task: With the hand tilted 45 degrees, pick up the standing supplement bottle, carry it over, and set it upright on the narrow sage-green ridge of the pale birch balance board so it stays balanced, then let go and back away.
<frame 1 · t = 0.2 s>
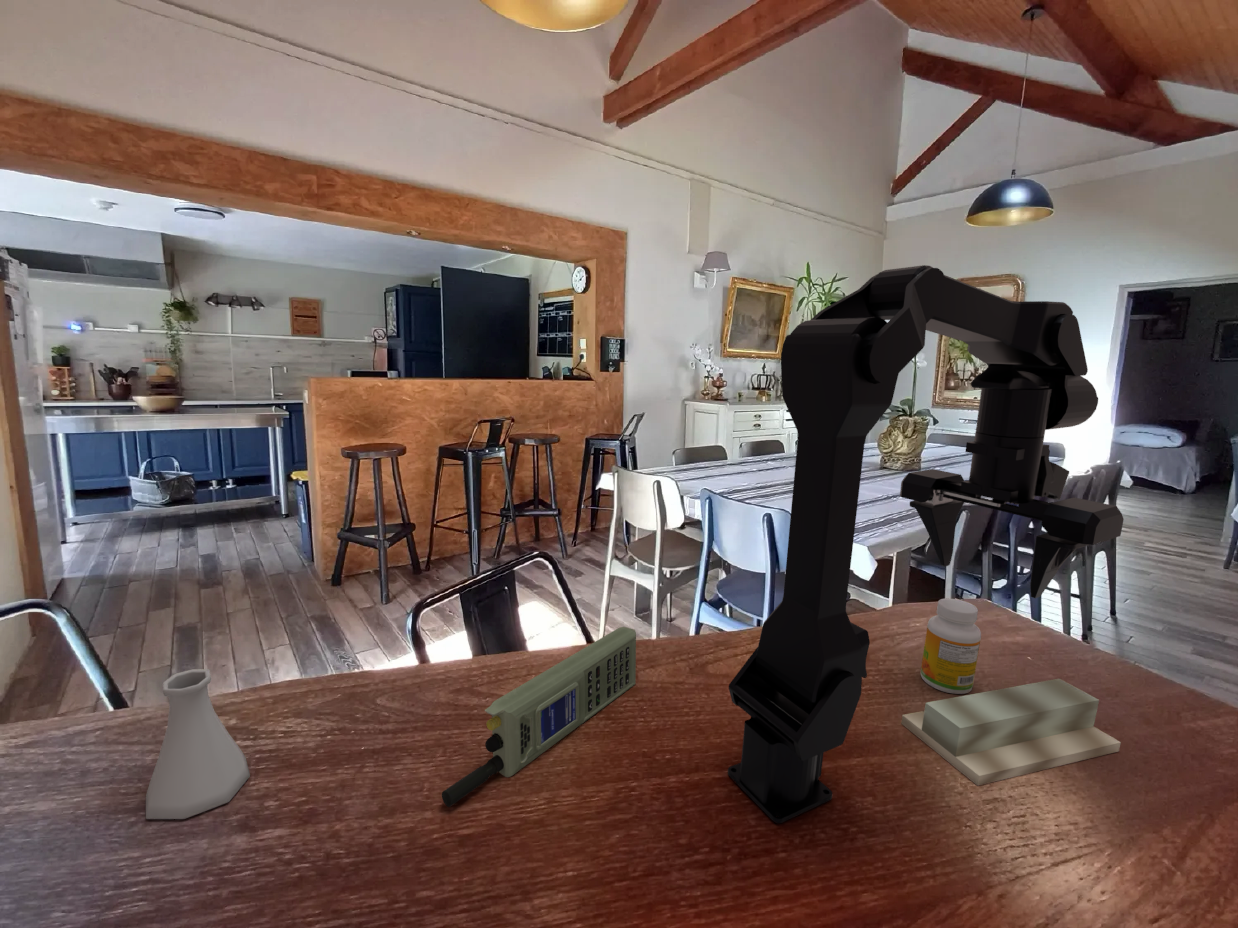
hand: (987, 580, 60), 15 cm above the table, tool pointing down, fingers open, 9 cm apart
handheld radio: (552, 737, 56), on the table
flask: (199, 790, 48), on the table
supplement bottle: (945, 683, 68), on the table
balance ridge: (1007, 736, 58), on the table
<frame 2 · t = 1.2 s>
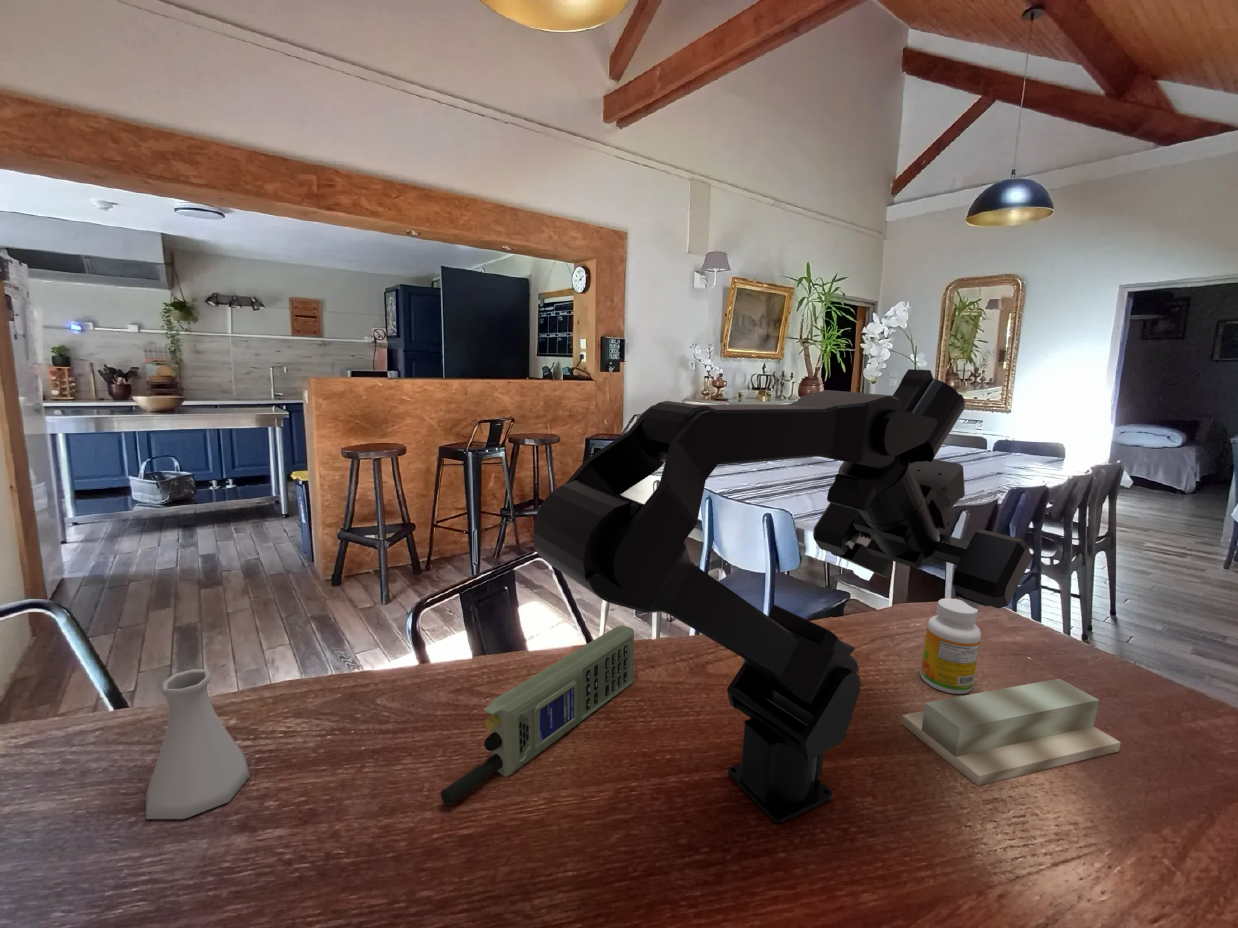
hand: (930, 588, 61), 13 cm above the table, tool tilted 45°, fingers open, 9 cm apart
nothing on the table moved.
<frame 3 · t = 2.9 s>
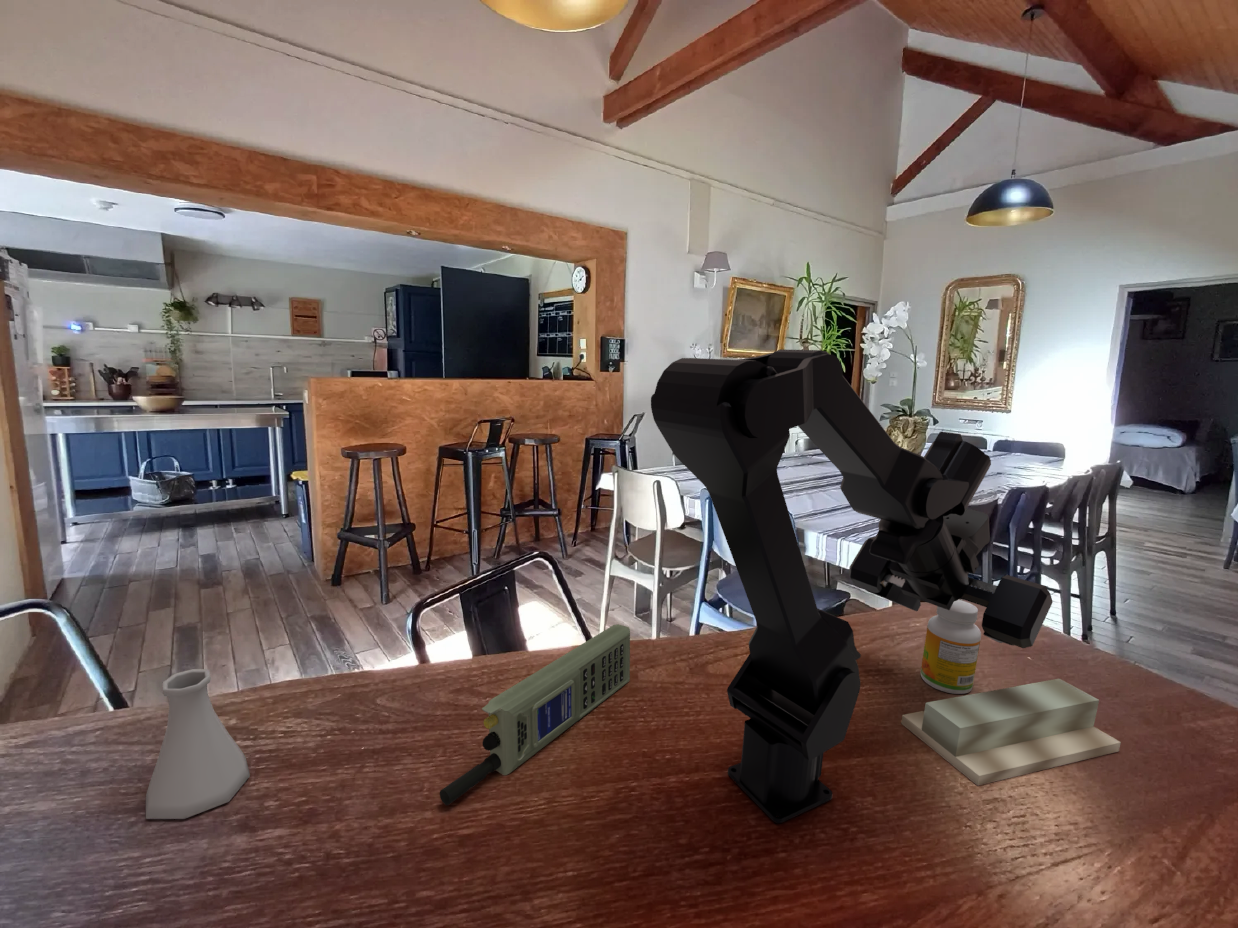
hand: (957, 622, 67), 7 cm above the table, tool tilted 45°, fingers open, 9 cm apart
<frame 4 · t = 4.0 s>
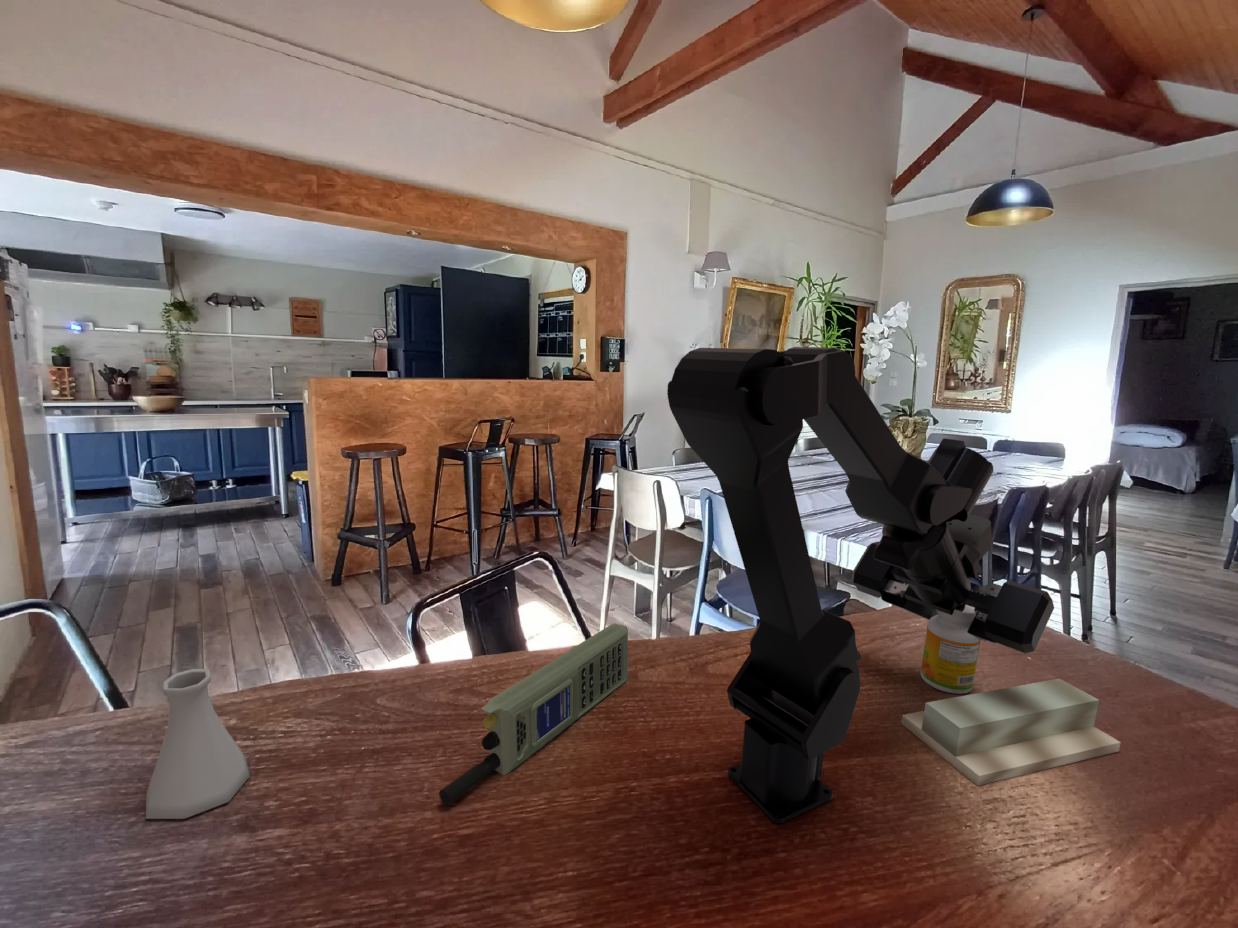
hand: (959, 627, 67), 7 cm above the table, tool tilted 45°, fingers closed on supplement bottle, 5 cm apart
supplement bottle: (945, 683, 68), on the table, touching gripper
everything else where it was.
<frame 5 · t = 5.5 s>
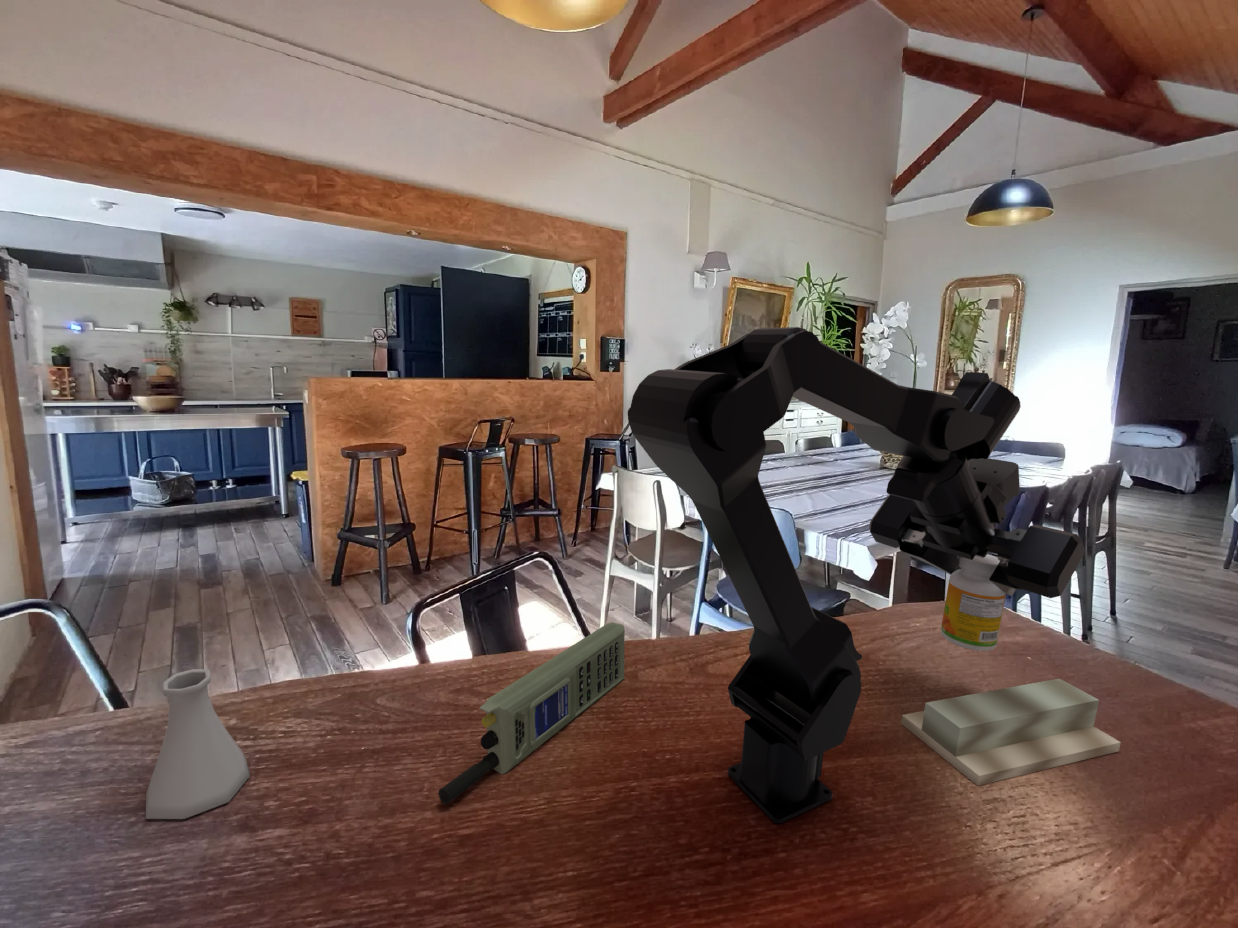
hand: (984, 582, 63), 13 cm above the table, tool tilted 45°, fingers closed on supplement bottle, 5 cm apart
supplement bottle: (967, 641, 64), point 6 cm above the table, touching gripper
everything else where it was.
when the fingers open (11 cm above the table, at t = 7.0 s): supplement bottle stays where it is, resting on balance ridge.
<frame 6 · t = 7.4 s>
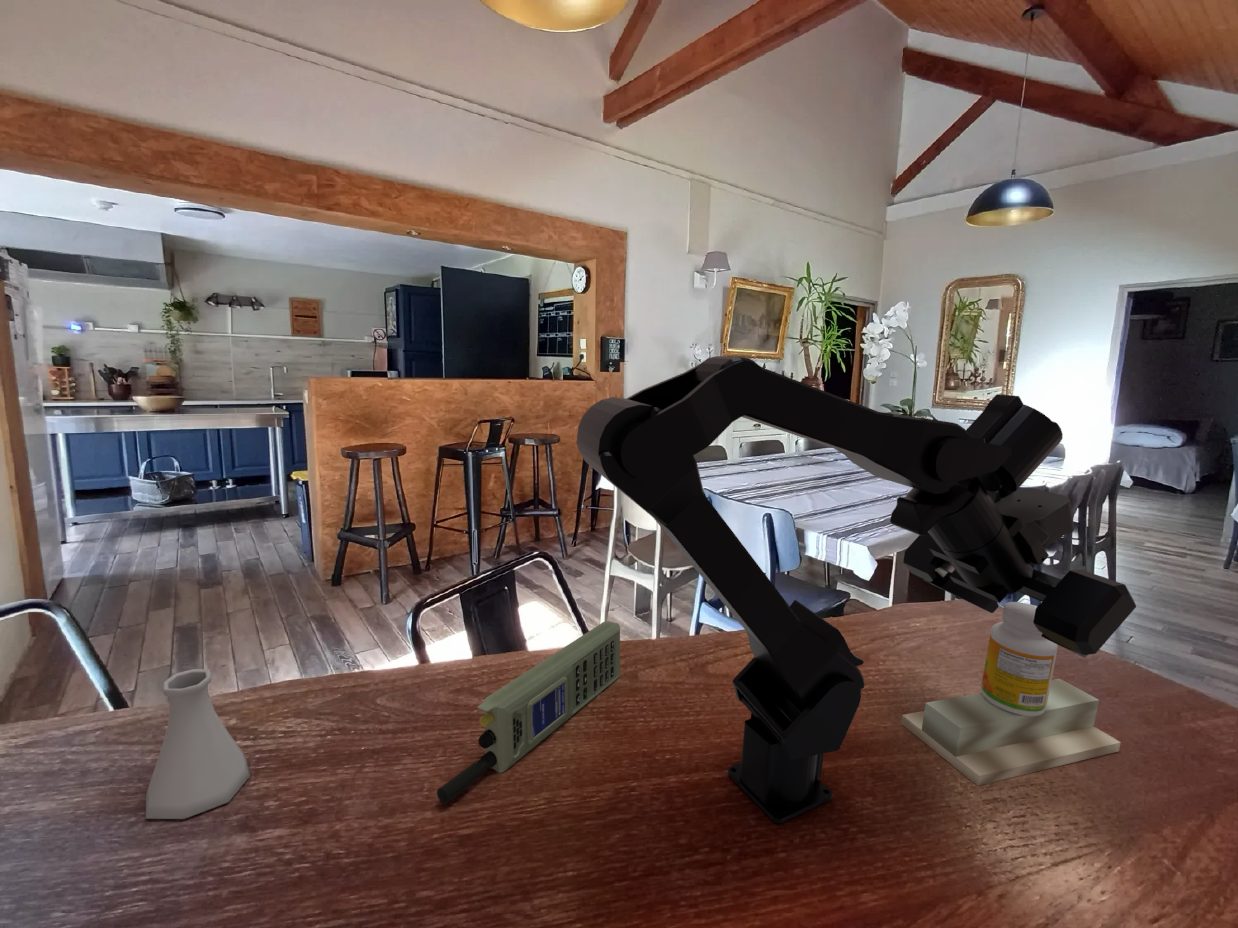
hand: (1037, 629, 56), 12 cm above the table, tool tilted 45°, fingers open, 9 cm apart
supplement bottle: (1011, 702, 57), point 4 cm above the table, touching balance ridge
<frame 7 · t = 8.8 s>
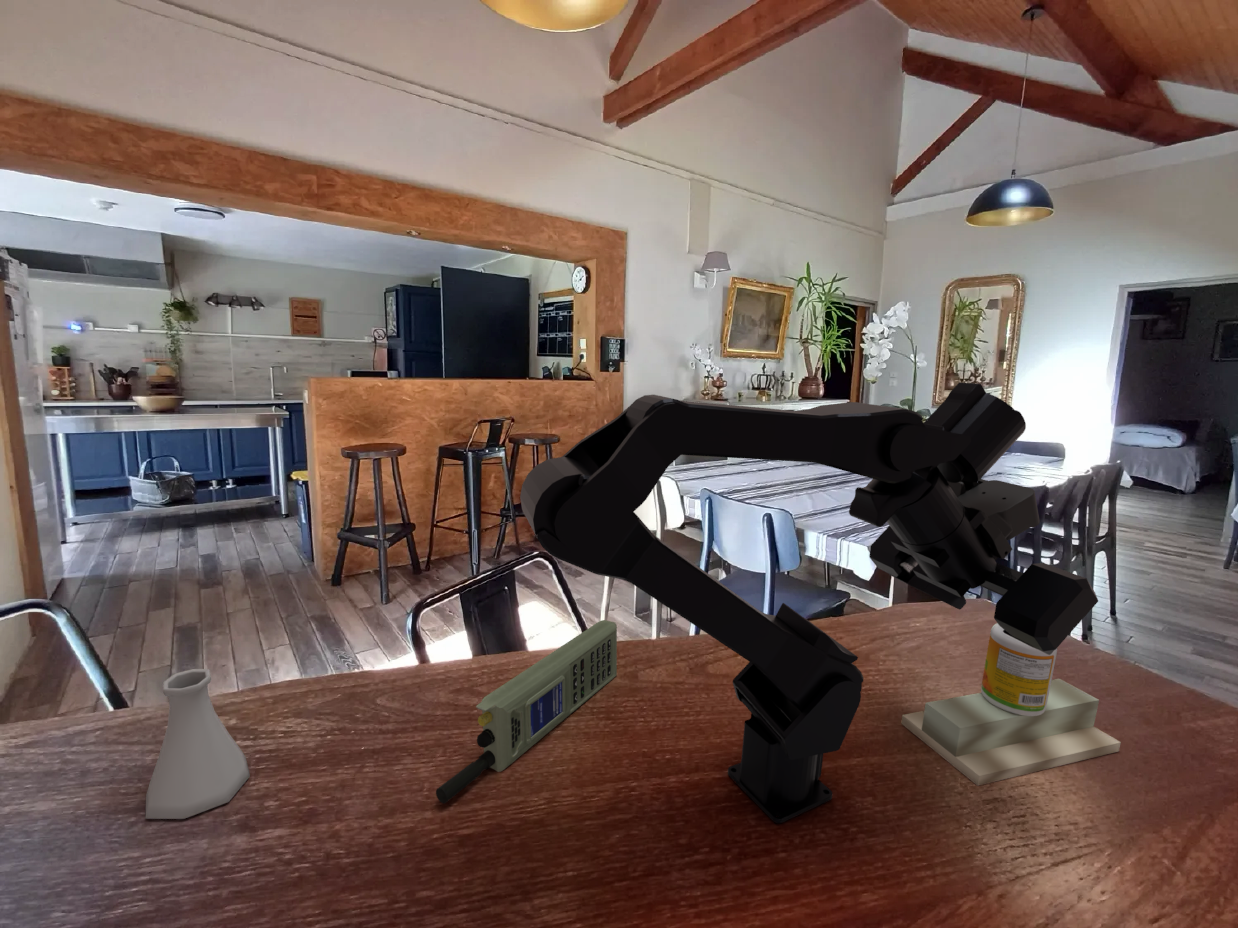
hand: (1003, 626, 55), 12 cm above the table, tool tilted 45°, fingers open, 9 cm apart
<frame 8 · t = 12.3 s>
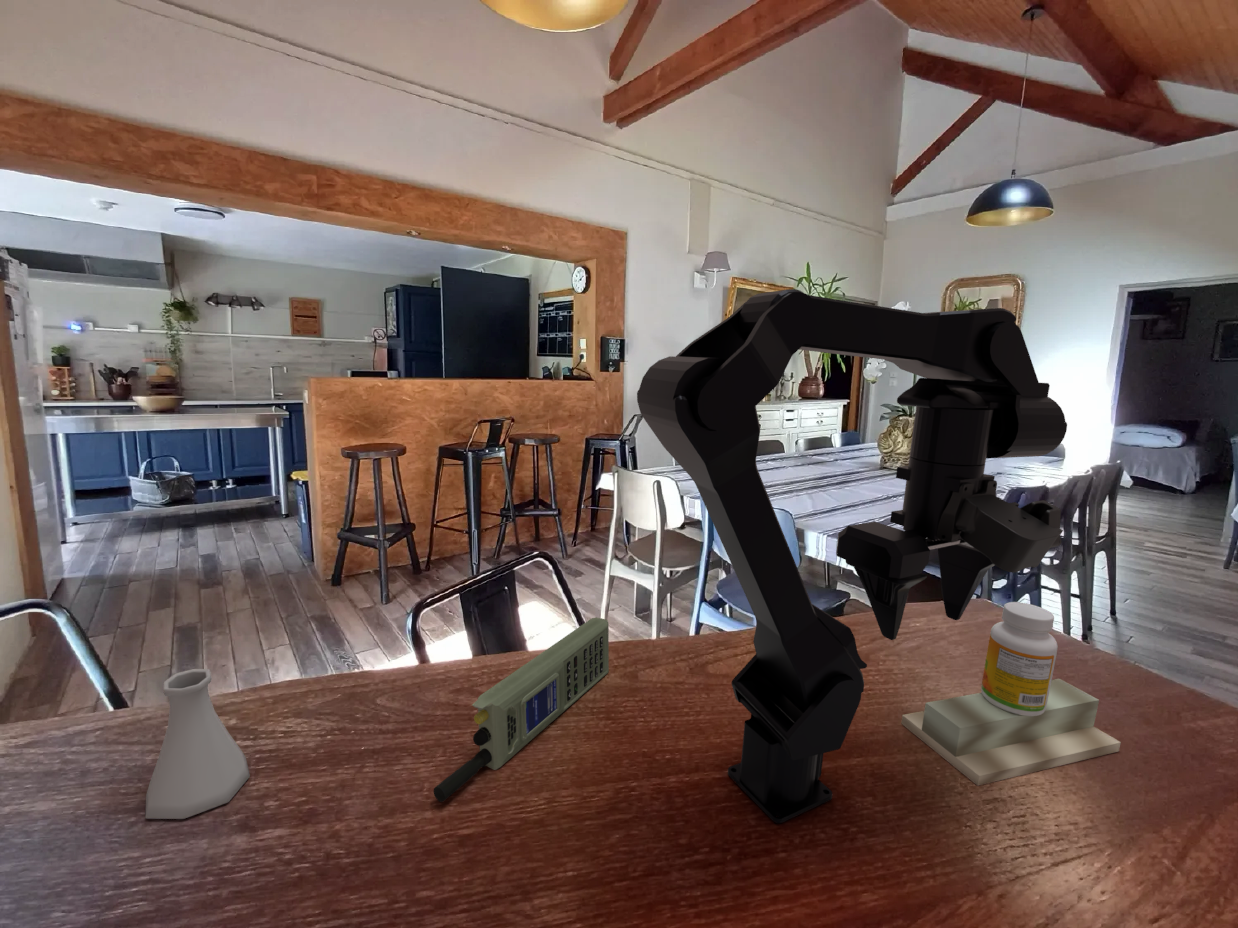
hand: (922, 627, 52), 13 cm above the table, tool pointing down, fingers open, 9 cm apart
at the end: supplement bottle 0.1 cm off-centre on the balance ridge, point 3.8 cm above the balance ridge's base; supplement bottle tilted 0°; the gripper is holding nothing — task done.
